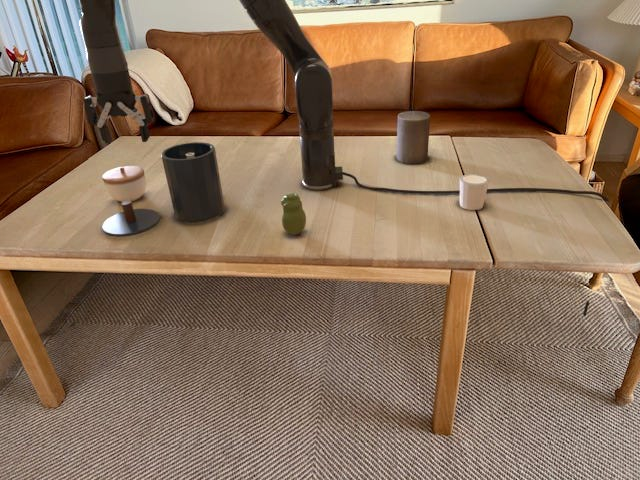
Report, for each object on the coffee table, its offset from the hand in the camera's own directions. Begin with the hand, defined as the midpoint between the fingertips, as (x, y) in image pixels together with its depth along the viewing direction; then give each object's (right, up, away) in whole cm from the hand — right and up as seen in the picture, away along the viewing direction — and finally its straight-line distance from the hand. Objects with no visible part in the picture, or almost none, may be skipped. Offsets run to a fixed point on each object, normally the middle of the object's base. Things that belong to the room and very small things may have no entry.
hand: (127, 141), depth 110 cm
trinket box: (-9, -11, +23) cm, 27 cm away
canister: (+14, -16, +13) cm, 25 cm away
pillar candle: (+73, +3, +39) cm, 83 cm away
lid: (-2, -18, +9) cm, 21 cm away
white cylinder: (+82, -14, +10) cm, 84 cm away
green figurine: (+39, -21, +2) cm, 44 cm away
